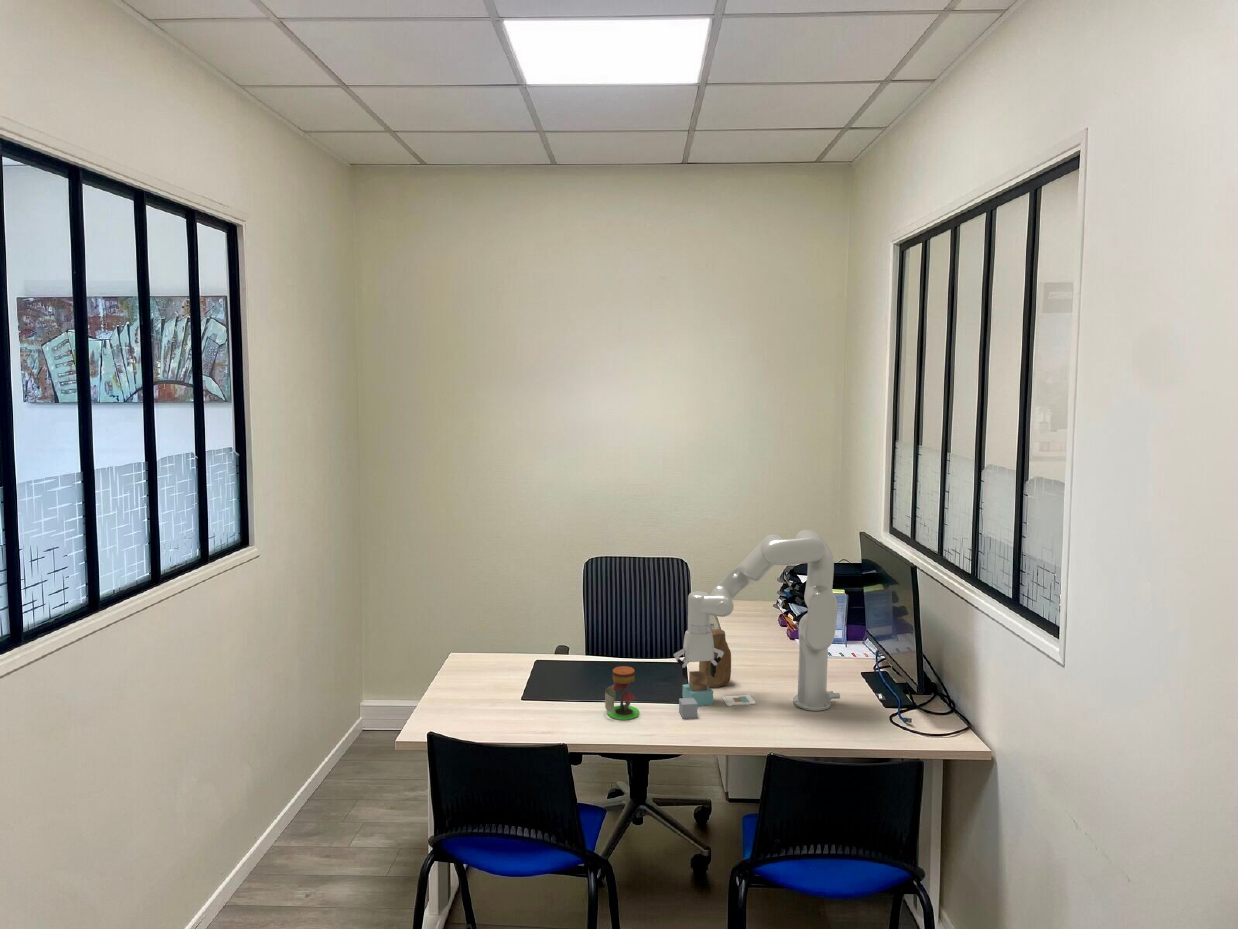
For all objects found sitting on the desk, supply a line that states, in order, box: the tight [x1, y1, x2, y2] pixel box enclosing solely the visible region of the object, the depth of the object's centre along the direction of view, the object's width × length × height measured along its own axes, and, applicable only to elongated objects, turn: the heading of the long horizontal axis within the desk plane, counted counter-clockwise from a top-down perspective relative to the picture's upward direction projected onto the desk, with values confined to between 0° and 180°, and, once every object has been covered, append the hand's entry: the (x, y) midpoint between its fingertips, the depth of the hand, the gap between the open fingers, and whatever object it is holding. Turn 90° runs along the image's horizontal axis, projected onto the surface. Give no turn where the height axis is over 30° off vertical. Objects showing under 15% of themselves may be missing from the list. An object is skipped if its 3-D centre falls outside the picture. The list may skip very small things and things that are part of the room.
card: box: [721, 694, 757, 707], centre depth 285 cm, size 10×7×1 cm
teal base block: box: [681, 683, 714, 707], centre depth 285 cm, size 8×8×5 cm
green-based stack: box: [604, 665, 640, 721], centre depth 274 cm, size 12×13×15 cm
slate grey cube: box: [678, 698, 698, 720], centre depth 273 cm, size 5×5×5 cm
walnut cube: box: [688, 670, 707, 691], centre depth 284 cm, size 5×5×5 cm
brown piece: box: [698, 628, 732, 689], centre depth 299 cm, size 11×8×20 cm
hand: (698, 676), depth 284 cm, fingers open, 9 cm apart
